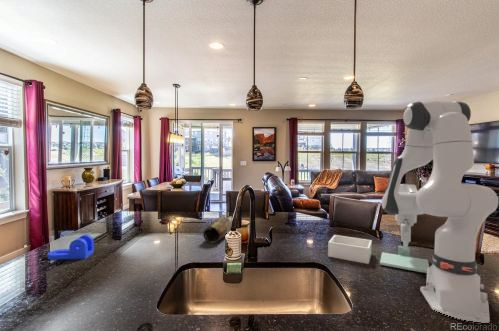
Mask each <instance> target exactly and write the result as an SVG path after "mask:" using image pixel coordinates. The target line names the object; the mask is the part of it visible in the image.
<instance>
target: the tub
mask: <svg viewBox="0 0 499 331" xmlns="http://www.w3.org/2000/svg"><path fill="white" fill-rule="evenodd" d="M372 241H373V240H372V239H365V238H359V237H351V236H347V235H346V236H344V235H338V234H333V236H332V237H331V238H330V240H328V245H327V246H328V248H327V255H328V256H327V257H329V258H335V259H340V260H346V261H351V262H354V263H355V262H357V263H362V264H367V265H369V264H370V261H371V257H372V254H373V253H372V252H373V251H372V249H373V248H372V247H373V244H372V243H373V242H372Z"/></svg>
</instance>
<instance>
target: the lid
mask: <svg viewBox="0 0 499 331" xmlns="http://www.w3.org/2000/svg"><path fill="white" fill-rule="evenodd" d="M379 265H382V266H386V267H391V268H392V267H393V268H397V269H402V270H408V271H413V272H418V273H423V274H424V273H425V274H427V268H429V267H430V264H429V260H428V259H426V258H420V257H414V256H413V257H412V256H411V247H409V246H408V250H404V249H403V245H398V246H397V254H396V253H388V252H383V251H382V252H381V255H380V260H379Z"/></svg>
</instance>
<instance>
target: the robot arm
mask: <svg viewBox="0 0 499 331" xmlns="http://www.w3.org/2000/svg"><path fill="white" fill-rule="evenodd" d="M402 114H403V116H402V121H403V124H404V125H405V127H406V128H407V134H406V136H405V137H406V138H405V146H404V149H403V151H402V153H401V154H400V155H399V156H397V157H396V158H395V159H394V162H393V165H392V168H391V171H390V175H389V178H388V180H387V185H386V188H385V190H384V193H383V195H382V198H381V208H382V209H383V211H384V212H385V213H387V214H388V215H391V216H392V215H395V216H394V218H395V219H394V220H395V222H398V224H397V225H399V226H400V240H401V242H402V247H403V249H404V250H408V247H409V243H411V237H412V236H411V235H412V234H411V233H412V230H411V229H412V227H414V224H417V222H418V221H417V220H418V216H419V215H425V214H426V215H430V216H434V217H439V218H440V217H441V218H442V217H445V218H446V217H447V219H446V221H445V223H444V224H442V225H441V226H439V227H438V228H437V229H436V230H435V232H434V252H432V256H431V257H432V258H431V259H432V264H431V265H429V268H427V273H426V283H425V284H426V285H425V286H424V285H423V286H420V288H419V290H420V292H421V294H422V296H423V297H424V299H425V300H426V301H427V303H428V305H429V306H430V308H431V310H433V311H434V310H435V311H434V312H436V311H437V312H436V313H438V312H440V313H442V314H441V315H443V314H445V315H444V316H446V315H448V316H447V317H449V316H451V317H450V318H452V317H454V318H453V319H456V318H457V320H460V319H461V320H460V321H464V320H466V321H465V322H468V321H473V322H472V323H474V322H481V323H489V322H490V323H491V320H490V319H491V318H490V308H489V300H488V292H487V293H486V292H483V291H481V290H484V288H485V285H484V284H483V283H481V276H480V275H479V274H478V273H477V272H478V270H477V269H478V264H477V259H476V246H477V238H478V234H479V232H480V229H481V228H482V225H483V224H484V222H485V220H486V219H487V218H488V217H489V216H490V215H491V214H493V213H494V212H495V211H496V210H497V208H498V206H499V198H498V195H497V193H496V192H495V191H494V189H492V188H490V187H488V186H484V185H480V184H475V183H462V180H463V177H464V175H465V173H466V172H468V171H470V170H471V169H472V168H473V166H474V163H475V160H474V158H475V157H474V146H473V136H472V131H471V125H470V123H469V122H470V119H471V116H472V112H471V108H470V106H469V105H468V104H467V103H466V102H462V101H456V100H455V101H449V100H448V101H447V100H445V101H444V100H441V101H440V100H428V101H415V102H411V103H409V104H408V105H407V106H406V107H405V108H404V110H403V113H402ZM432 160H433V162H432V164H433V165H432V170H431V174H430V176H429V178H428V180H427V181H426V183H425V184H424V185H423V186H422V187H421V188H419V189H417V185H415V184H414V183H401V182H402V178H403V177H404V175H405V174H406V173H408V172H410V171H412V170H415V169H418V168H421V167H424V166H426V165H428V164H429V163H430V162H431V161H432ZM440 313H439V314H440ZM481 323H480V324H481ZM490 323H489V324H490Z"/></svg>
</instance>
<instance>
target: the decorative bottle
mask: <svg viewBox="0 0 499 331" xmlns="http://www.w3.org/2000/svg"><path fill="white" fill-rule="evenodd" d="M233 214H234V213H231V214H229V216H228V217H226V216H220V217H218V218H217V219H215V220H214V221H213V222H212V223H210V225H209V226H207V227H206V228H205V229H204V231H203V235H202V236H203V239H204V240H205V241H206V242H208V243H209V244H211V245H212V244H216V243H218V242H219V241H220V240H221V239H223V238H224V237H225V236H226V235H227V234H229V233H230V232H231V229H230V227H231V228H232V222H231V220H232V217H233ZM226 233H227V234H226ZM225 234H226V235H225Z"/></svg>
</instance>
